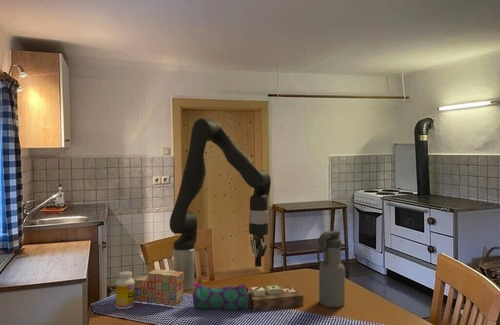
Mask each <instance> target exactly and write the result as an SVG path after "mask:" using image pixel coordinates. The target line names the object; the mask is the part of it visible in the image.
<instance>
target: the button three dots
mask: <svg viewBox="0 0 500 325" xmlns="http://www.w3.org/2000/svg"><path fill="white" fill-rule="evenodd" d="M250 290H251V295H252V296H253V297H256V296H265V290H264V289H263V287H262V286H261V285H260V286H253V287H250Z"/></svg>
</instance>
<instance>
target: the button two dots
mask: <svg viewBox="0 0 500 325" xmlns="http://www.w3.org/2000/svg"><path fill="white" fill-rule="evenodd" d="M294 289H295V288H294ZM294 289H292V288H287V289H282V291H283V292H284V293H285V294H288V293H296V291H295V290H294Z"/></svg>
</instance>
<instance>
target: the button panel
mask: <svg viewBox="0 0 500 325" xmlns="http://www.w3.org/2000/svg"><path fill="white" fill-rule="evenodd" d="M278 287H279V288H281V294H277V295H269V294H268V293H267V292H266V287H265V288H263V287H262V288H263V289H264V290H265V296H256V297H253V296H252V295H251V289H248V298H249V303H248V307H250V308H251V310H252V311H253V310H259V311H265V309H268V310H276V309H285V308H293V307H294V308H296V307H302V306H304V294H302V293H301V292H300V291H299V290H297V289H296V288H295V287H293V286H292V285H287V286H286V285H285V286H278ZM287 288H292V289H294V290H295V291H296V293H288V294H285V293H284V292H283V291H282V289H287Z"/></svg>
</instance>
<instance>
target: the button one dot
mask: <svg viewBox="0 0 500 325" xmlns="http://www.w3.org/2000/svg"><path fill="white" fill-rule="evenodd" d="M279 287H280V286H278V285H277V284H276V285H266V286H265V288H266V292H267V293H268V294H269V295H277V294H281V288H279Z"/></svg>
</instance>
